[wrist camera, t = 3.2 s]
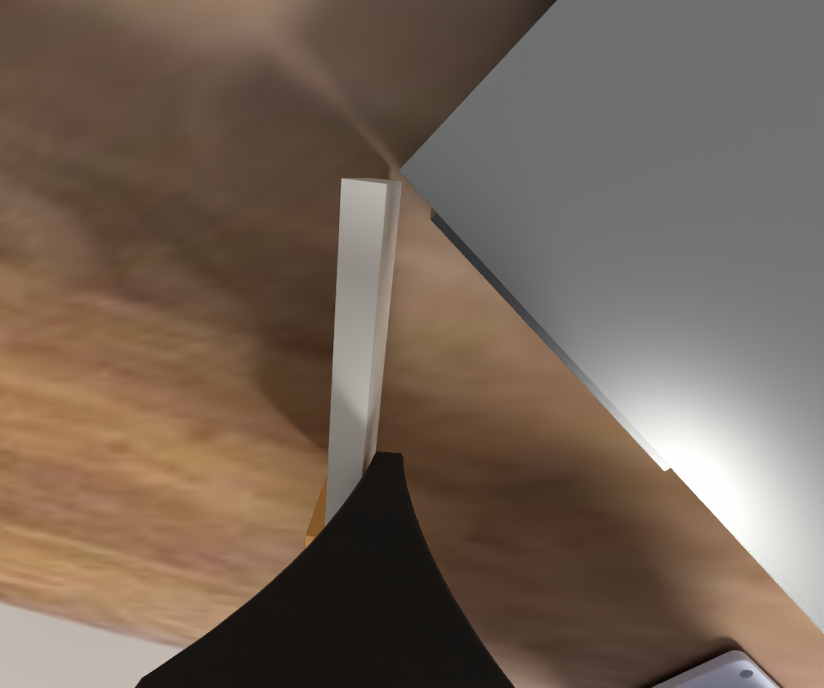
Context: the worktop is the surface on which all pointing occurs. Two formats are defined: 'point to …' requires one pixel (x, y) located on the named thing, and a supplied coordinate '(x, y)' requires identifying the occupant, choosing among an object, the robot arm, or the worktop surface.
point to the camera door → (358, 336)
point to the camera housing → (667, 239)
